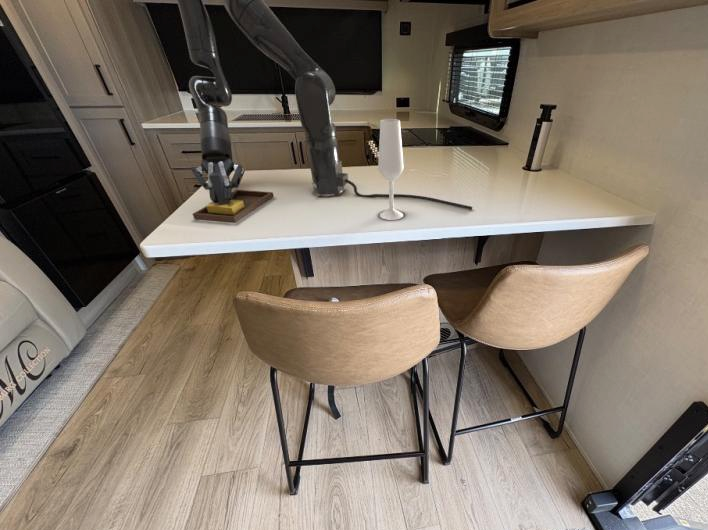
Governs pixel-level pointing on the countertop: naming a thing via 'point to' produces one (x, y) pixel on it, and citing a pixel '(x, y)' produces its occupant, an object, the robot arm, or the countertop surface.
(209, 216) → the tray
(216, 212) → the grey post with base
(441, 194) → the countertop surface
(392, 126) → the champagne flute
